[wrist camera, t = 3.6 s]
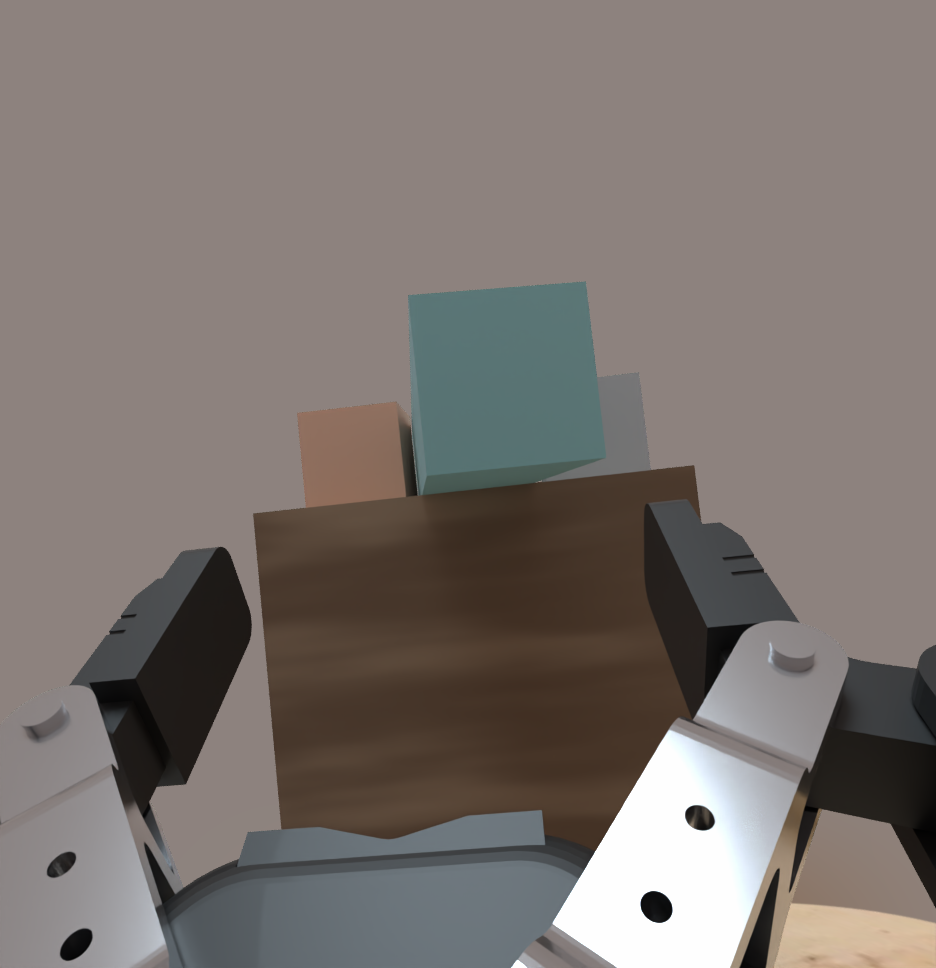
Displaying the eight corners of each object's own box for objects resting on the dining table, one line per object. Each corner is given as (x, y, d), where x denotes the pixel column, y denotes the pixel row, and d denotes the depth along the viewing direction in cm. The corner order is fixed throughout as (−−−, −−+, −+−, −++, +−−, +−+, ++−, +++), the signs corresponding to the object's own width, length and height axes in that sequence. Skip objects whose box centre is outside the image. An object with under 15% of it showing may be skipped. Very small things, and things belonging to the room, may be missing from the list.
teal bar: (606, 457, 15) (585, 281, 15) (426, 475, 14) (407, 295, 15) (487, 498, 39) (480, 430, 39) (419, 506, 38) (412, 437, 38)
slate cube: (651, 475, 29) (639, 372, 29) (546, 486, 29) (535, 384, 29) (633, 480, 33) (622, 391, 33) (542, 490, 33) (532, 402, 34)
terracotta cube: (406, 501, 29) (396, 401, 30) (306, 512, 30) (297, 412, 30) (418, 503, 34) (409, 416, 34) (331, 513, 34) (323, 426, 34)
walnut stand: (814, 1435, 22) (694, 465, 23) (336, 1441, 23) (253, 513, 24) (693, 1059, 37) (624, 484, 38) (407, 1073, 38) (353, 513, 39)
